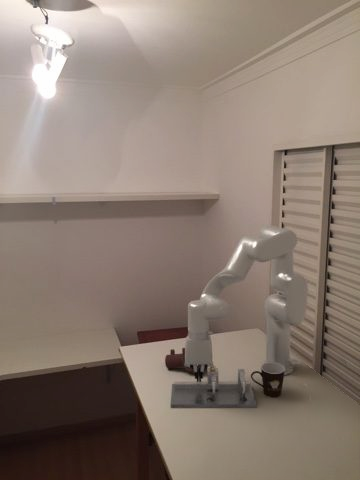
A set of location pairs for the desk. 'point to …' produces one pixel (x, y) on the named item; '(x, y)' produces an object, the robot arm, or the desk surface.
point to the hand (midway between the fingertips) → (198, 380)
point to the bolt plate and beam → (203, 397)
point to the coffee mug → (271, 378)
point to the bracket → (178, 360)
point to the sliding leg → (212, 379)
